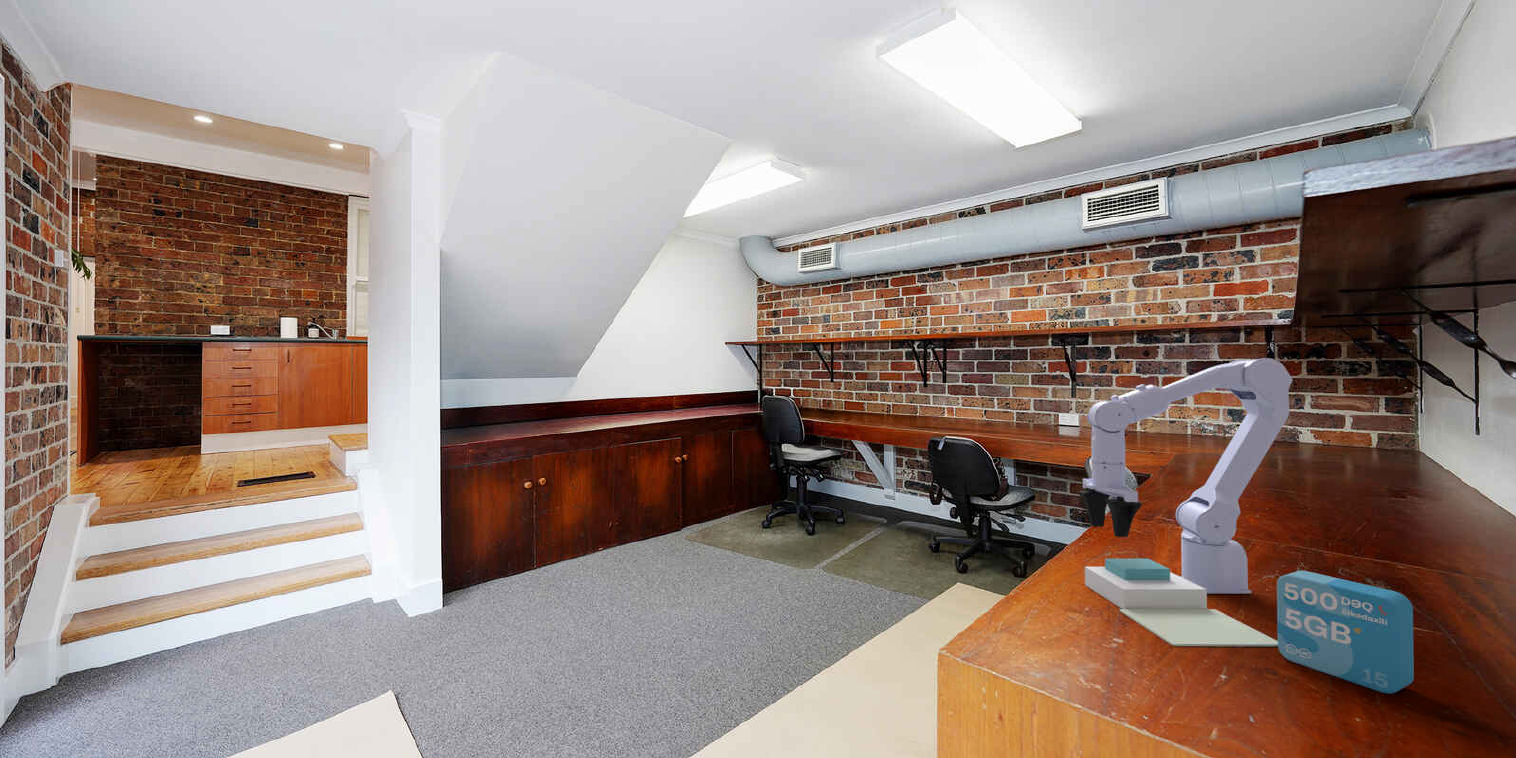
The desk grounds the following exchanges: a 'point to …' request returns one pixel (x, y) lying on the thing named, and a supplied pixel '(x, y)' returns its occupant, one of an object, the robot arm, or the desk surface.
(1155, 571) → the tile
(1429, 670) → the desk surface
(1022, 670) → the desk surface
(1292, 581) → the data package
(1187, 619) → the mat
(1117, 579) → the white flat block
